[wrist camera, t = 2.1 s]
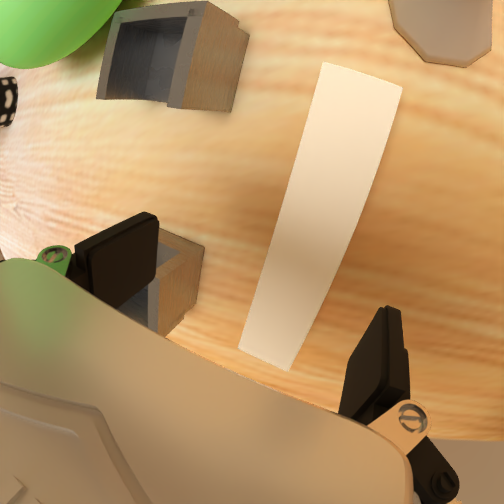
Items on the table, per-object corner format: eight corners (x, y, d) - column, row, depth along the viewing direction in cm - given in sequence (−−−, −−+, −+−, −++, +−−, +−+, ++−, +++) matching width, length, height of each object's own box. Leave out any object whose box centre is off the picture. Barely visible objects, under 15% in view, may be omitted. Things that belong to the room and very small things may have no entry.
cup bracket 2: (204, 247, 24) (159, 279, 19) (195, 307, 28) (157, 344, 22) (137, 218, 26) (89, 240, 21) (135, 275, 29) (94, 303, 24)
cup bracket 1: (251, 29, 16) (207, 1, 11) (230, 112, 19) (181, 108, 14) (167, 27, 18) (114, 12, 13) (151, 99, 21) (95, 99, 16)
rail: (395, 99, 15) (402, 87, 11) (305, 331, 24) (287, 371, 20) (335, 79, 16) (323, 61, 12) (262, 312, 25) (237, 348, 21)
